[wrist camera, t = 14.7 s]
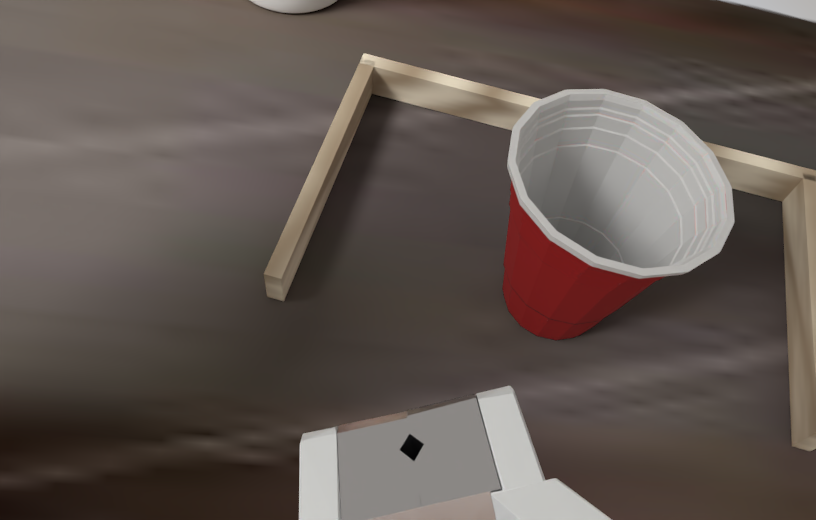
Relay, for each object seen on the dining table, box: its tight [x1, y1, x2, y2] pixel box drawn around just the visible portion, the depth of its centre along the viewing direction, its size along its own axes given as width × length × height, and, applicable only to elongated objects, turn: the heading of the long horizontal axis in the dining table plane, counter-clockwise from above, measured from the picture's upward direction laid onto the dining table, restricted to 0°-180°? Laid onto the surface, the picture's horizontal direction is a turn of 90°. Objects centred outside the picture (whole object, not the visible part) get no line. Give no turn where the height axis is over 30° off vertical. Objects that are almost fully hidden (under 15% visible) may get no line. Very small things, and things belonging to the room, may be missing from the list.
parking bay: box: [264, 53, 816, 451], centre depth 43 cm, size 31×18×2 cm, turn 75°
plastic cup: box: [503, 89, 735, 340], centre depth 37 cm, size 11×11×12 cm
